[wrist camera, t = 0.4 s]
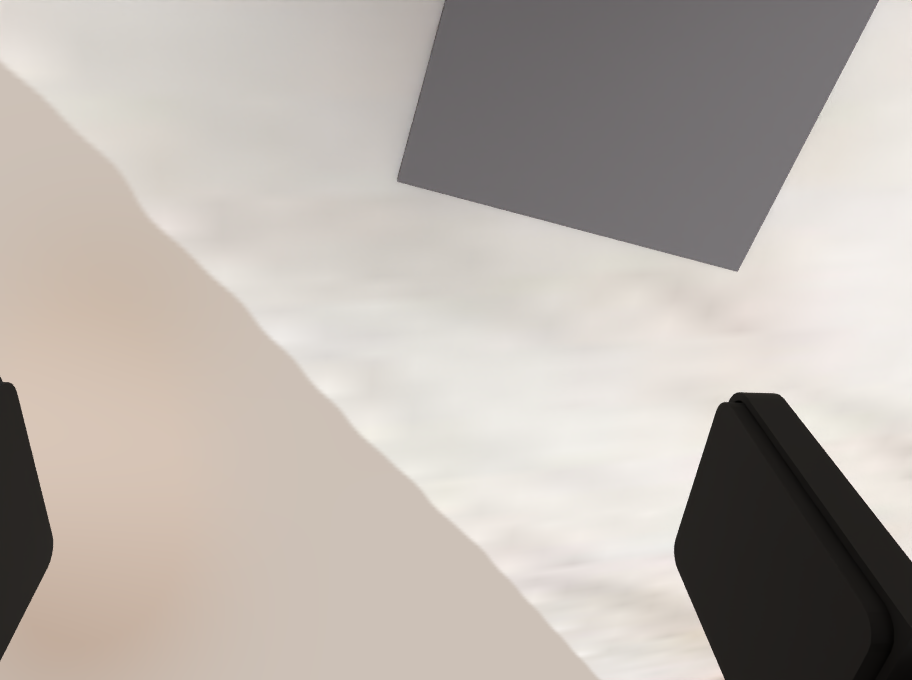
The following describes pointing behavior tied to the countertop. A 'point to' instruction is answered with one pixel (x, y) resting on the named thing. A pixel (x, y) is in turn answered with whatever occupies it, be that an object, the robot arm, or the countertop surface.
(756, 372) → the countertop surface
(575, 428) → the countertop surface
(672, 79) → the mat
